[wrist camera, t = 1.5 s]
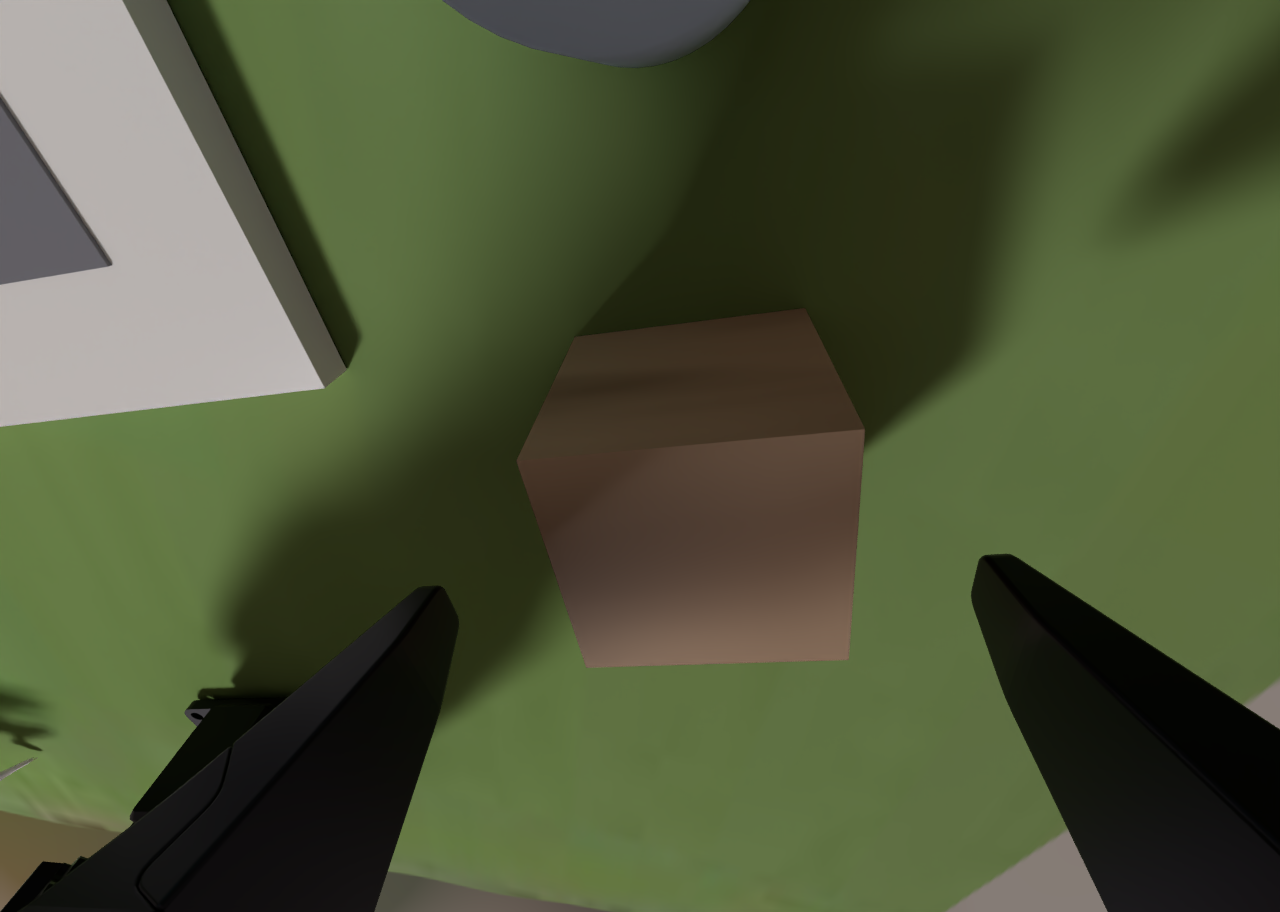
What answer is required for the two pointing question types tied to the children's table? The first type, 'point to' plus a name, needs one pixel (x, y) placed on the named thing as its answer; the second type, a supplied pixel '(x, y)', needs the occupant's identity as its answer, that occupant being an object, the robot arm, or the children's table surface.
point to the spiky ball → (14, 768)
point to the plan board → (134, 227)
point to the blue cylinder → (606, 26)
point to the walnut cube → (700, 493)
